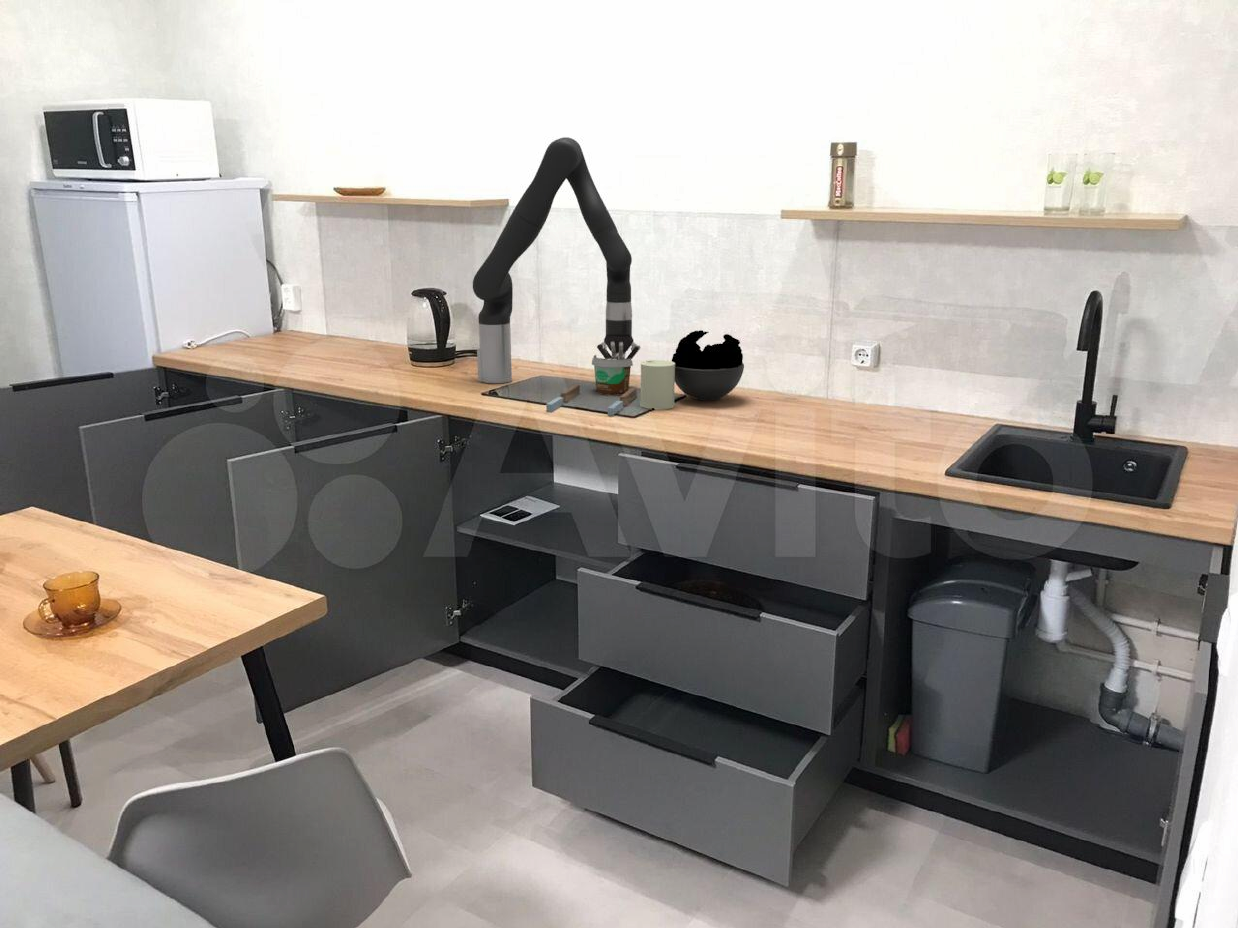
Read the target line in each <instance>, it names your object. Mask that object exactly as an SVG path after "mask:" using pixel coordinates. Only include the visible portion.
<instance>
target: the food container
mask: <svg viewBox="0 0 1238 928" xmlns="http://www.w3.org/2000/svg"><path fill="white" fill-rule="evenodd" d="M591 365H592V366H594V368H593V369H594V377H595V379H594V380H595V388H596V393H597V392H598V393H597V394H599V393H602V394H601V395H604V394H610V395H609V396H615V395H614V394H621V395H623V394H624V393H626V392H627V391H628V390H629V387H630V376H631V368H632V366H633V359H631V358H630V359H626V358H625V359H623V360H618V359H614V358H608V359H605V358H600V357H597V355H596V354H595V355H593V357H592V360H591Z"/></svg>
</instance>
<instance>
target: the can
mask: <svg viewBox="0 0 1238 928" xmlns="http://www.w3.org/2000/svg"><path fill="white" fill-rule="evenodd" d="M639 406H640V407H641V406H642V407H648V408H654V409H655V410H656V411H661V410H662V411H663V410H670V409H671V410H672V409H673V408H675V407H676V406H675V363H674V362H672V360H663V359H661V360H660V359H653V360H652V359H650V360H645V361H641V362H640V404H639ZM642 407H641V408H642ZM655 410H654V411H655Z"/></svg>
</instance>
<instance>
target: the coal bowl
mask: <svg viewBox="0 0 1238 928" xmlns="http://www.w3.org/2000/svg"><path fill="white" fill-rule="evenodd" d="M707 334H709V331H704V330H694V331H691V332H689V333H688V334H687V335H686V336H683V338H680V340H679V341H678V344H677V346H676V349H675V353H673V354H672V358H671V361H672V362H674V363H675V381H674V384H676V386H677V387H678V389H680V391H681V392H682V393H684V394H685V395H687V396H689V397H690V398H693V399H694V400H695V399H696V400H698V401H714V400H715V401H716V400H718V399H721V398H723V397H725V396H727V395H728V394H730V393H731V392H732V391H733V390H734V389H735V388H736V387H737V386H738V384H739V383H740V380H741V378H742V376H743V374H744V371H745V364H744V363H743V360H744V354H743V353H742V351H743V350H742V348H741V346H740V344H741V340H739V339H737V338H735V337H733V336H732V335H731V334H729V333H727V334H726V333H725V334H724V335H723V336H722V337H723V339H724V341H723V342H722V343H714V344H712V345H711V344H706V345H705V346H704V347H703V348H702V349H703V350H702V349H701V346H700V345H699V344H698V343H697V342H698V341H699V340H700V339H701V338H703V337H704V336H705V335H707Z"/></svg>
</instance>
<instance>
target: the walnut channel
mask: <svg viewBox="0 0 1238 928" xmlns="http://www.w3.org/2000/svg"><path fill="white" fill-rule="evenodd" d="M637 391H638V389H637V387H636V388H635V387H631V388H630V389H628V391H627V392H626V393H624V394H621V395H619V401H623V407H626V405H627V404H628V403H629V404H631V403H632V400H633V399H634V398H635V399H636V398H638V396H637V395H638V394H637V393H638V392H637ZM578 394H579V395H580V394H581V393H580V384H573V385H571V386H570V387H569V388H567V389H565V390H564V391H562V392H561V393H560V397H563V402H567V401H568V402H569V400H570V399H571V400H572V398H573V399H574V398H576V397H577V396H579V395H578ZM575 396H576V397H575ZM635 399H634V400H635ZM571 400H570V401H571ZM634 400H633V401H634ZM568 402H567V403H568ZM629 404H628V405H629ZM628 405H627V406H628Z"/></svg>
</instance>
